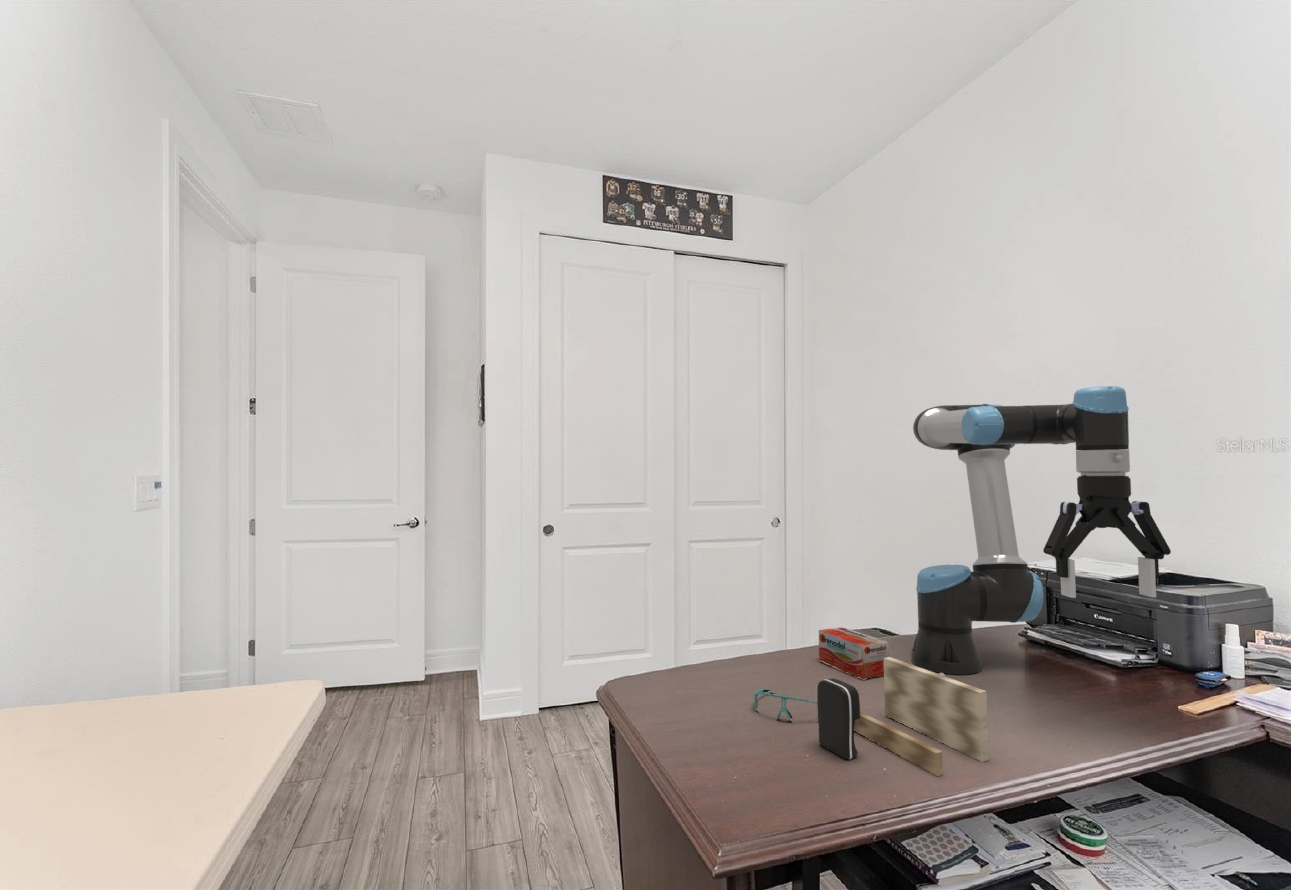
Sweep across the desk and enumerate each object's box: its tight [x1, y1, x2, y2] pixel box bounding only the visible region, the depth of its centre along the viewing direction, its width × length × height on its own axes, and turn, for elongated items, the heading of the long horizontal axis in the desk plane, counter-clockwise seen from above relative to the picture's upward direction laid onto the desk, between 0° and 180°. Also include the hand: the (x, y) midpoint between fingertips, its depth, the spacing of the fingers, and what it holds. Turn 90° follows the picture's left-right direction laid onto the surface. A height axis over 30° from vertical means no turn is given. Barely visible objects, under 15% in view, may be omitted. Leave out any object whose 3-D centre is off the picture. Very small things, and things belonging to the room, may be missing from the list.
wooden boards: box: [854, 656, 990, 777], centre depth 104 cm, size 20×12×11 cm, turn 25°
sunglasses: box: [753, 688, 818, 720], centre depth 119 cm, size 14×15×5 cm
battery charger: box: [816, 678, 861, 760], centre depth 101 cm, size 7×4×11 cm, turn 27°
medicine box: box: [817, 626, 890, 679], centre depth 142 cm, size 15×8×8 cm, turn 25°
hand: (1108, 596), depth 105 cm, fingers open, 13 cm apart
